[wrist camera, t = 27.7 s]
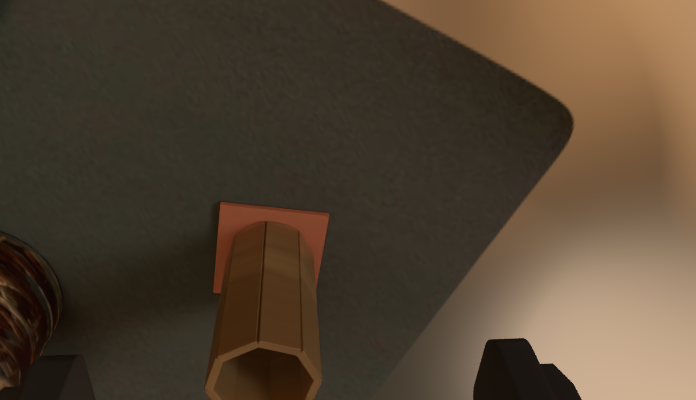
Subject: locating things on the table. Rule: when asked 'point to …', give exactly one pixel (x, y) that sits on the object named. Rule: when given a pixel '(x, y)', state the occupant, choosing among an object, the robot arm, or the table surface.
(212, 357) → the wooden octagonal cup
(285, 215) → the mat
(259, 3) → the table surface
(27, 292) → the jar
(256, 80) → the table surface
